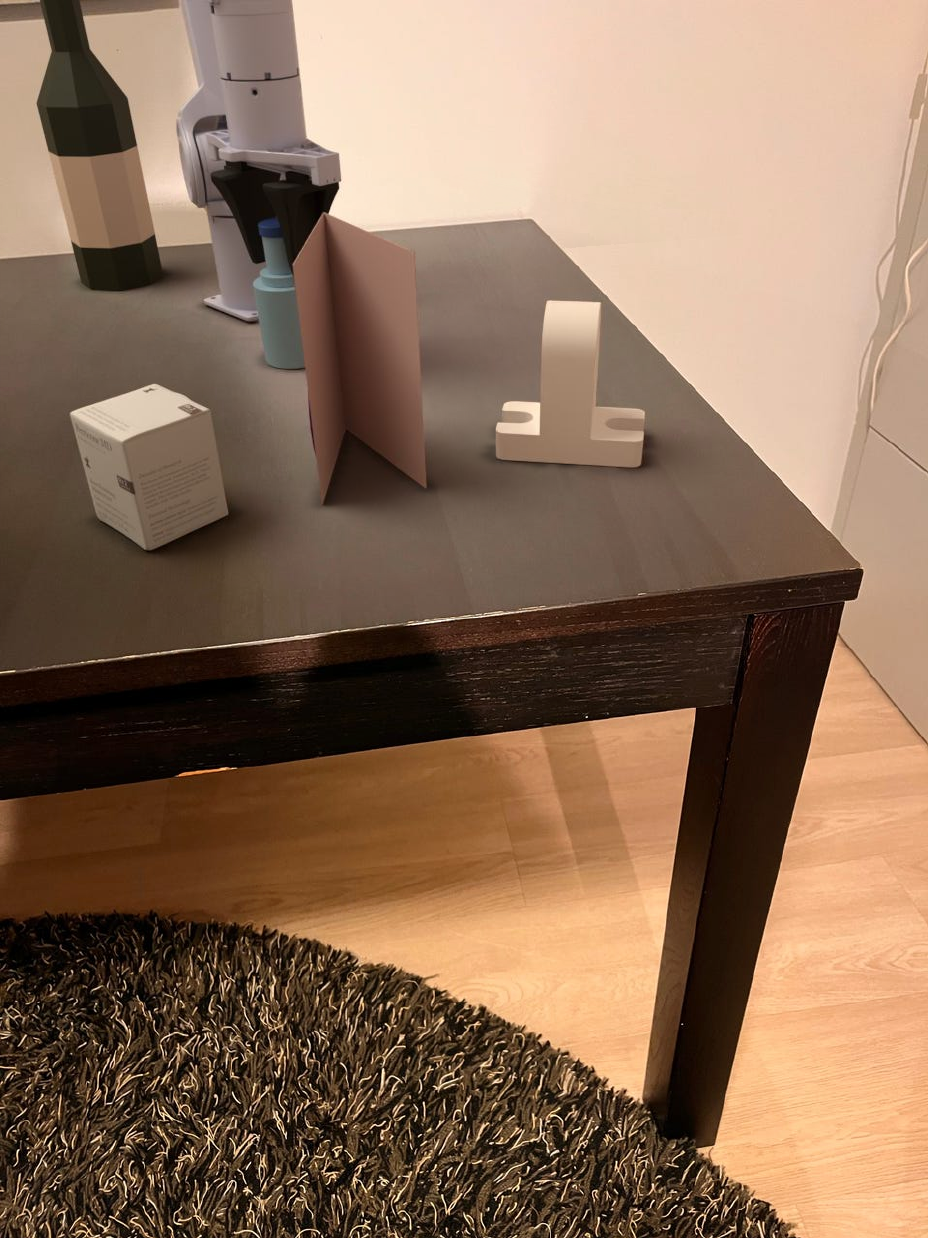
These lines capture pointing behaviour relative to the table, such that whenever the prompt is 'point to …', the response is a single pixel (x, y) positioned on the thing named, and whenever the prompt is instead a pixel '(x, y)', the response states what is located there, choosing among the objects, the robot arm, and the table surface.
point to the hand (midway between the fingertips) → (284, 267)
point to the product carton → (151, 464)
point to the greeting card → (360, 345)
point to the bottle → (278, 302)
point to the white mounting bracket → (570, 401)
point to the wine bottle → (95, 159)
